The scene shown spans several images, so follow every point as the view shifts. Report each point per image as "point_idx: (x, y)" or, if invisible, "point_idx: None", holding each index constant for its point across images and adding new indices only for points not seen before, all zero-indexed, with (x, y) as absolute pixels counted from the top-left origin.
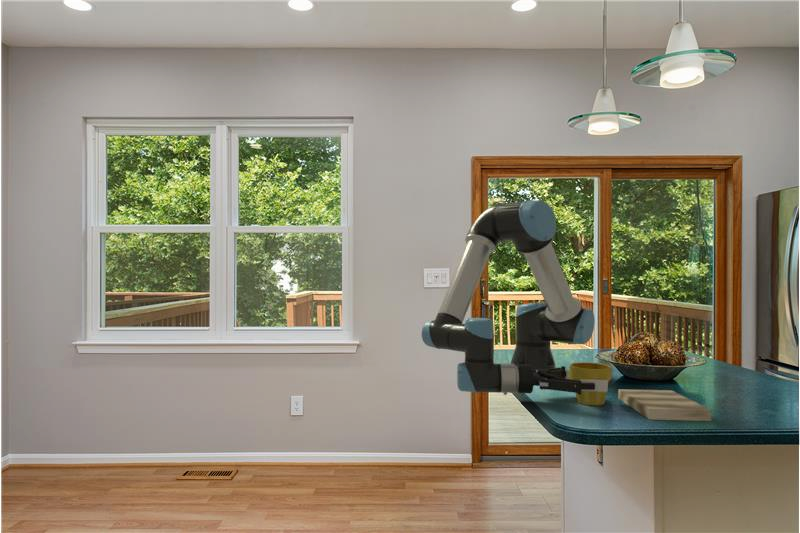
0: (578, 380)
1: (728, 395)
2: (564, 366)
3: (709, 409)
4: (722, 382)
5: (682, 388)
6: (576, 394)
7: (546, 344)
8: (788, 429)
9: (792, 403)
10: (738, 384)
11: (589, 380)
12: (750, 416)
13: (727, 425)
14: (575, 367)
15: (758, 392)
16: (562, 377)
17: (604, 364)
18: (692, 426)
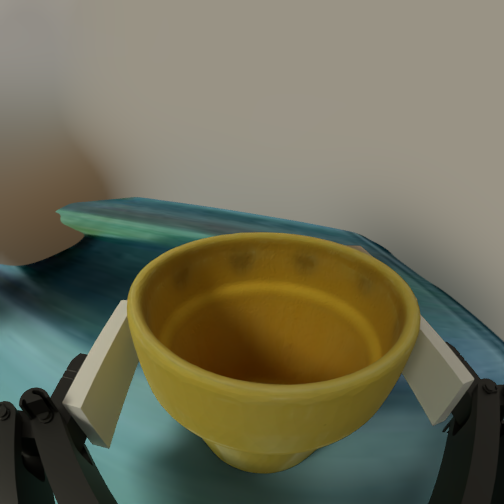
0: (489, 387)
1: (181, 223)
2: (31, 388)
3: (356, 246)
4: (115, 215)
5: (127, 238)
6: (276, 466)
7: None
8: (353, 233)
9: (224, 209)
10: (129, 211)
11: (449, 348)
12: (303, 235)
13: None
14: (395, 362)
15: (171, 210)
16: (92, 464)
17: (226, 237)
18: (408, 284)
